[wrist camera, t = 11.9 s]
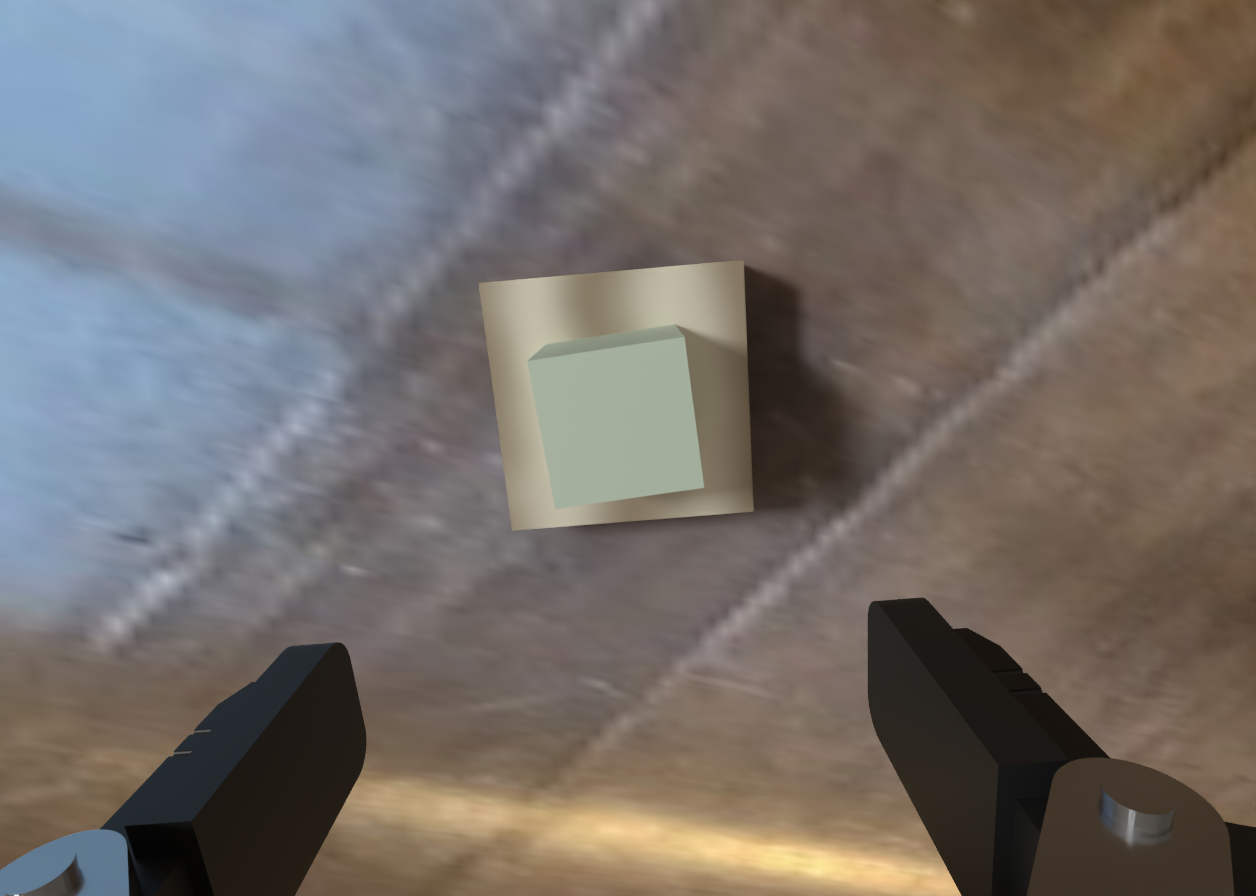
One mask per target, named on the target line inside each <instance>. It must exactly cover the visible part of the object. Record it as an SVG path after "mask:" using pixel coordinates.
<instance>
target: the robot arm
mask: <svg viewBox="0 0 1256 896" xmlns="http://www.w3.org/2000/svg"><path fill="white" fill-rule="evenodd" d="M868 700H869V708H870V713H871V718H872V722H873V725H874V728H875V731H876V734H877V736H878V738H879V740H880V742H881V744H882V746H883V748H884V750H885V752H886V753H887V755H888V757H889V759H890V761H891V763H892V765H893V767H894V769H895V771H896V772H897V774H898V776H899V778H900V780H901V782H902V784H903V786H904V788H905V789H906V791H907V793H908V795H909V797H910V799H911V801H912V803H913V805H914V806H915V808H916V810H917V812H918V814H919V816H920V818H921V820H922V822H923V823H924V825H925V827H926V829H927V831H928V833H929V835H930V837H931V839H932V840H933V842H934V844H935V846H936V848H937V850H938V852H939V854H940V856H941V857H942V859H943V861H944V863H945V865H946V867H947V869H948V871H949V873H950V875H951V876H952V878H953V880H954V882H955V884H956V886H957V888H958V890H959V892H960V893H961V895H962V896H1256V827H1250V826H1244V825H1238V824H1233V823H1228V822H1224V821H1223V819H1222V817H1221V816H1220V815H1219V813H1218V812H1217V811H1216V810H1215V808H1214V807H1213V806H1212V805H1211V804H1209V803H1208V802H1207V801H1206V800H1205V799H1204V798H1203V797H1202V796H1200V795H1199V794H1198V793H1196V792H1195V791H1194V790H1192V789H1191V788H1189V787H1188V786H1186V785H1185V784H1183V783H1181V782H1180V781H1178V780H1176V779H1174V778H1172V777H1170V776H1168V775H1166V774H1164V773H1161V772H1159V771H1157V770H1154V769H1152V768H1149V767H1146V766H1143V765H1140V764H1136V763H1132V762H1128V761H1124V760H1118V759H1112V758H1110V757H1109V756H1108V755H1107V754H1106V753H1105V752H1104V751H1103V750H1102V749H1101V748H1100V747H1099V746H1098V745H1097V744H1096V743H1095V742H1094V741H1093V740H1092V739H1091V738H1090V737H1089V736H1088V735H1087V734H1086V733H1085V732H1084V731H1083V730H1082V729H1081V728H1080V727H1079V726H1078V725H1077V724H1076V723H1075V722H1074V721H1073V720H1072V719H1071V718H1070V717H1069V716H1068V715H1067V714H1066V713H1065V711H1064V710H1063V709H1062V708H1061V707H1060V706H1059V705H1058V704H1057V703H1056V702H1055V701H1054V700H1053V699H1052V698H1051V697H1050V696H1049V695H1048V694H1047V693H1042V690H1041V687H1040V686H1039V685H1038V684H1037V683H1036V682H1035V681H1034V680H1033V679H1032V678H1031V677H1030V676H1029V675H1028V674H1027V673H1023V671H1022V668H1021V667H1020V666H1019V665H1018V664H1017V663H1016V662H1015V661H1014V660H1013V659H1012V658H1011V657H1010V655H1009V654H1008V653H1007V652H1006V651H1005V650H1004V649H1003V648H1002V647H1001V646H999V645H997V644H996V643H994V642H992V641H990V640H988V639H986V638H985V637H983V636H981V635H979V634H977V633H975V632H973V631H972V630H970V629H968V628H961V629H953V628H952V627H951V626H950V625H949V624H948V623H947V622H946V620H945V619H944V618H943V617H942V616H941V615H940V614H939V613H938V612H937V610H936V609H935V608H934V607H933V606H932V605H931V604H930V603H929V601H927V600H926V599H925V598H910V599H897V600H885V601H873V602H872V603H871V604H870V606H869V610H868ZM365 753H366V730H365V725H364V720H363V715H362V711H361V706H360V702H359V697H358V692H357V688H356V683H355V678H354V674H353V669H352V664H351V660H350V656H349V653H348V650H347V649H346V647H345V646H344V645H343V644H342V643H338V642H337V643H325V644H312V645H299V646H290V647H288V648H286V649H285V650H284V651H283V652H282V653H281V654H280V655H279V657H278V658H277V659H276V660H275V661H274V662H273V663H272V664H271V665H270V666H269V668H268V669H267V670H266V671H265V672H264V673H263V674H262V675H261V676H260V677H259V679H258V680H257V681H256V682H252V683H250V684H248V685H247V686H245V687H244V688H242V689H241V690H239V691H238V692H236V693H235V694H233V695H232V696H230V697H229V698H227V699H226V700H224V701H223V702H221V703H220V704H218V705H217V706H216V707H215V708H214V709H213V711H212V712H211V713H210V714H209V715H208V716H207V717H206V718H205V719H204V720H203V721H202V722H201V723H200V724H199V725H198V726H197V727H196V728H195V730H194V735H189V736H188V737H187V738H186V739H185V740H184V741H183V742H182V743H181V744H180V745H179V746H178V747H177V748H176V750H175V751H174V756H171V757H168V758H167V759H166V760H165V761H164V762H163V763H162V764H161V765H160V766H159V767H158V768H157V770H156V771H155V772H154V773H153V774H152V775H151V776H150V777H149V778H148V779H147V780H146V781H145V782H144V783H143V784H142V785H141V786H140V787H139V789H138V790H137V791H136V792H135V793H134V794H133V795H132V796H131V797H130V798H129V799H128V800H127V801H126V802H125V803H124V804H123V805H122V806H121V807H120V809H119V810H118V811H117V812H116V813H115V814H114V815H113V816H112V817H111V818H110V819H109V820H108V821H107V822H106V823H105V824H104V825H103V826H102V828H101V829H98V830H88V831H84V832H79V833H75V834H72V835H68V836H65V837H62V838H60V839H57V840H54V841H52V842H49V843H47V844H45V845H43V846H41V847H39V848H36V849H34V850H33V851H31V852H29V853H27V854H25V855H23V856H22V857H20V858H18V859H17V860H15V861H14V862H12V863H10V864H9V865H7V866H6V867H5V868H3V869H2V870H0V896H295V894H296V892H297V890H298V889H299V887H300V885H301V883H302V881H303V879H304V877H305V876H306V874H307V872H308V870H309V868H310V866H311V864H312V863H313V861H314V859H315V857H316V855H317V853H318V851H319V849H320V848H321V846H322V844H323V842H324V840H325V838H326V836H327V835H328V833H329V831H330V829H331V827H332V825H333V823H334V822H335V820H336V818H337V816H338V814H339V812H340V810H341V809H342V807H343V805H344V803H345V801H346V799H347V797H348V795H349V794H350V792H351V790H352V788H353V786H354V784H355V782H356V781H357V779H358V777H359V775H360V773H361V770H362V767H363V763H364V759H365Z"/></svg>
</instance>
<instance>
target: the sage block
mask: <svg viewBox="0 0 1256 896" xmlns="http://www.w3.org/2000/svg"><path fill="white" fill-rule="evenodd" d="M527 363H528V368H529V373H530V379H531V384H532V389H533V394H534V399H535V405H536V410H537V415H538V420H539V426H540V431H541V436H542V441H543V447H544V452H545V457H546V462H547V468H548V473H549V478H550V483H551V489H552V494H553V499H554V504H555V509H559V508H566V507H573V506H580V505H587V504H594V503H601V502H608V501H615V500H622V499H629V498H636V497H643V496H650V495H657V494H664V493H671V492H678V491H685V490H692V489H699V488H704V482H703V474H702V467H701V459H700V452H699V444H698V436H697V429H696V421H695V413H694V406H693V398H692V391H691V383H690V375H689V368H688V360H687V352H686V345H685V337H684V336H683V334H682V333H681V332H680V330H679V329H678V328H677V327H676V325H675V324H673V325H666V326H660V327H654V328H647V329H641V330H634V331H628V332H621V333H615V334H608V335H602V336H595V337H589V338H582V339H576V340H569V341H563V342H556V343H550V344H546V345H545V346H543V347H542V348H541V349H540V350H539V351H538V352H537V353H536V354H534V355H533V356H532V357H531V358H530V359H529V360H528V361H527Z"/></svg>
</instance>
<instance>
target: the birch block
mask: <svg viewBox="0 0 1256 896" xmlns="http://www.w3.org/2000/svg"><path fill="white" fill-rule="evenodd" d="M479 289H480V297H481V304H482V311H483V319H484V326H485V334H486V341H487V348H488V356H489V363H490V371H491V378H492V385H493V393H494V400H495V408H496V415H497V422H498V430H499V437H500V445H501V452H502V459H503V467H504V474H505V482H506V489H507V496H508V504H509V511H510V518H511V526H512V531H513V530H525V529H538V528H551V527H564V526H576V525H589V524H602V523H615V522H627V521H640V520H653V519H666V518H679V517H691V516H704V515H717V514H730V513H742V512H754V507H753V482H752V457H751V432H750V407H749V382H748V357H747V332H746V307H745V281H744V260H740V261H728V262H716V263H705V264H693V265H682V266H670V267H658V268H647V269H635V270H624V271H612V272H601V273H589V274H578V275H566V276H555V277H543V278H532V279H520V280H509V281H497V282H486V283H479ZM673 324H675V325H676V327H677V328H678V329H679V330H680V332H681V333H682V334H683V336H684V337H685V345H686V352H687V360H688V368H689V375H690V383H691V391H692V398H693V406H694V413H695V421H696V429H697V436H698V444H699V452H700V459H701V467H702V474H703V482H704V488H699V489H692V490H685V491H678V492H671V493H664V494H657V495H650V496H643V497H636V498H629V499H622V500H615V501H608V502H601V503H594V504H587V505H580V506H573V507H566V508H559V509H555V504H554V499H553V494H552V489H551V483H550V478H549V473H548V468H547V462H546V457H545V452H544V447H543V441H542V436H541V431H540V426H539V420H538V415H537V410H536V405H535V399H534V394H533V389H532V384H531V379H530V373H529V368H528V363H527V361H528V360H529V359H530V358H531V357H532V356H533V355H534V354H536V353H537V352H538V351H539V350H540V349H541V348H542V347H543V346H545V345H546V344H550V343H556V342H563V341H569V340H576V339H582V338H589V337H595V336H602V335H608V334H615V333H621V332H628V331H634V330H641V329H647V328H654V327H660V326H666V325H673Z"/></svg>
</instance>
